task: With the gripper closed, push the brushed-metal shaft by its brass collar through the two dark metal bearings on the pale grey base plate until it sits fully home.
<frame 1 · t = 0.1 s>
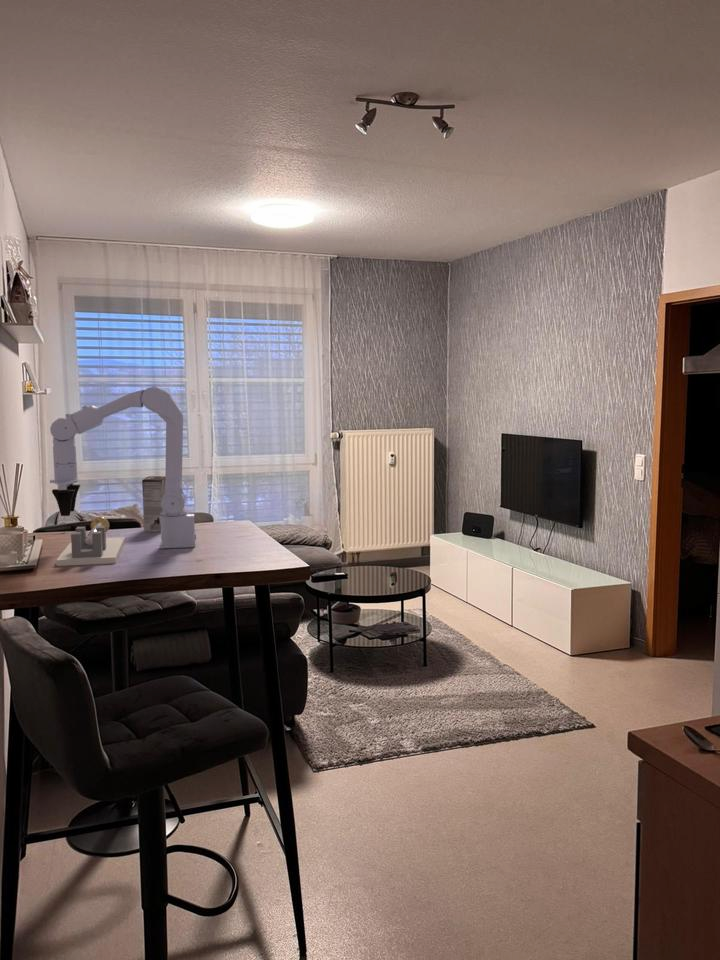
hand: (67, 513, 209), 10 cm above the table, tool pointing down, fingers open, 7 cm apart
shaft housing: (93, 552, 207), on the table
coffee box: (157, 529, 241), on the table
shaft: (95, 532, 211), point 4 cm above the table, slide at 8.0 cm
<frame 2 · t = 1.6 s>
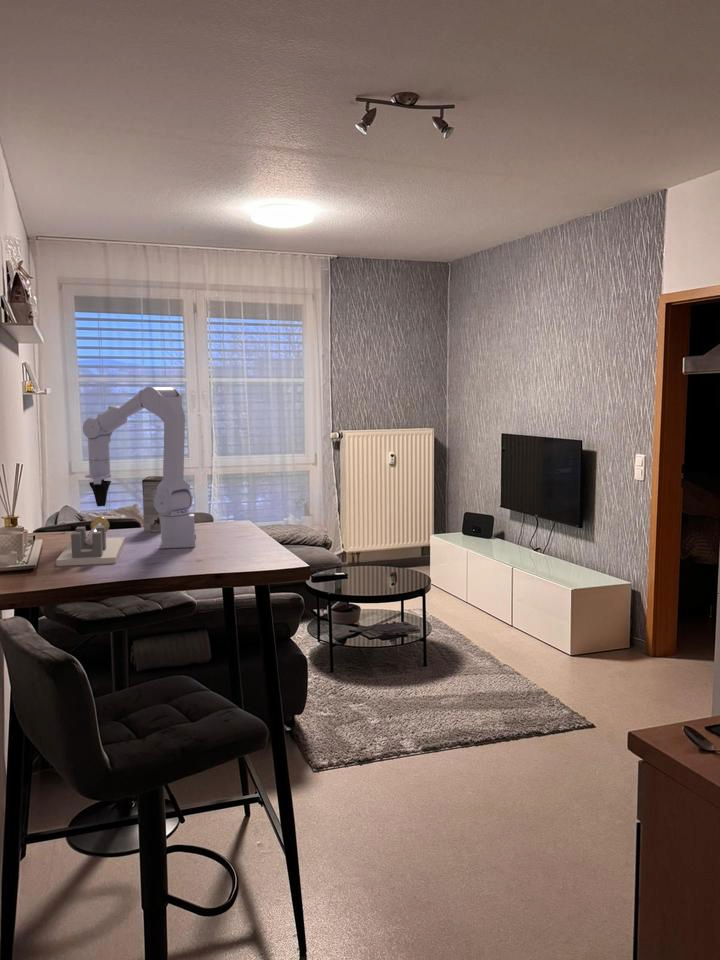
hand: (101, 506, 226), 9 cm above the table, tool pointing down, fingers closed
nothing on the table moved.
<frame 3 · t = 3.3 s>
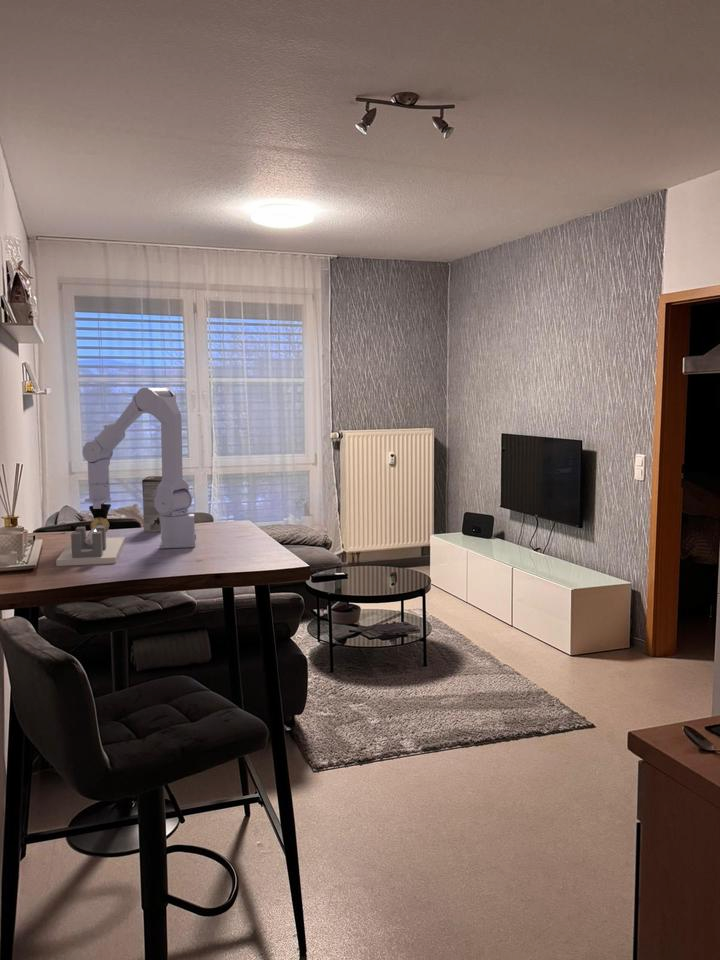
hand: (101, 529, 224), 3 cm above the table, tool pointing down, fingers closed
shaft: (95, 532, 211), point 4 cm above the table, slide at 7.8 cm, touching gripper
everything else where it was.
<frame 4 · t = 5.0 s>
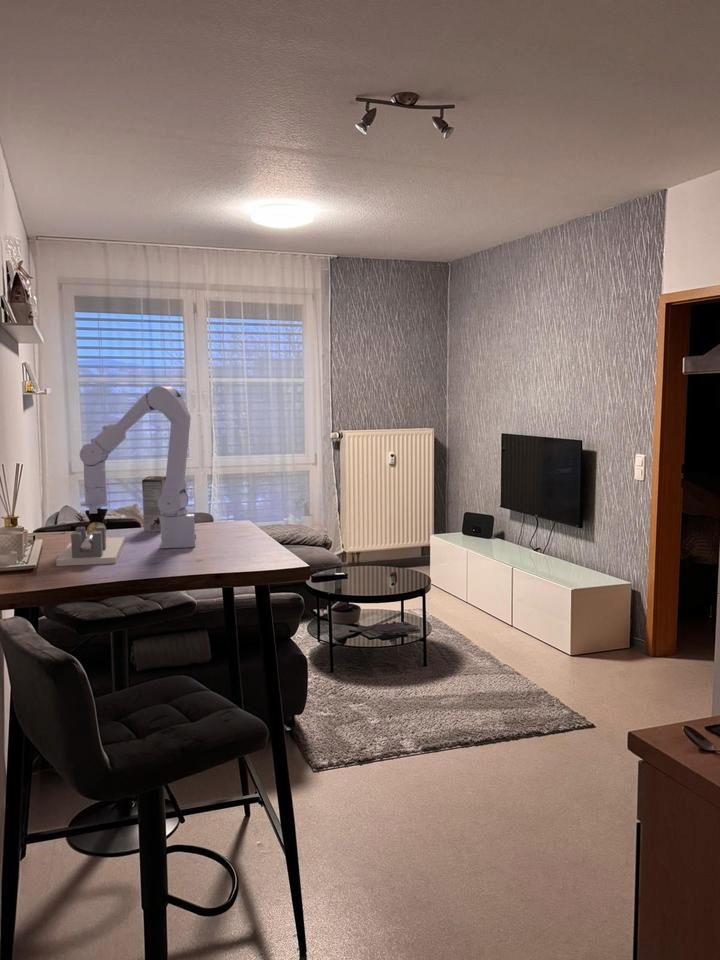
hand: (97, 535, 216), 3 cm above the table, tool pointing down, fingers closed
shaft: (91, 538, 203), point 4 cm above the table, slide at -0.2 cm, touching gripper
everything else where it was.
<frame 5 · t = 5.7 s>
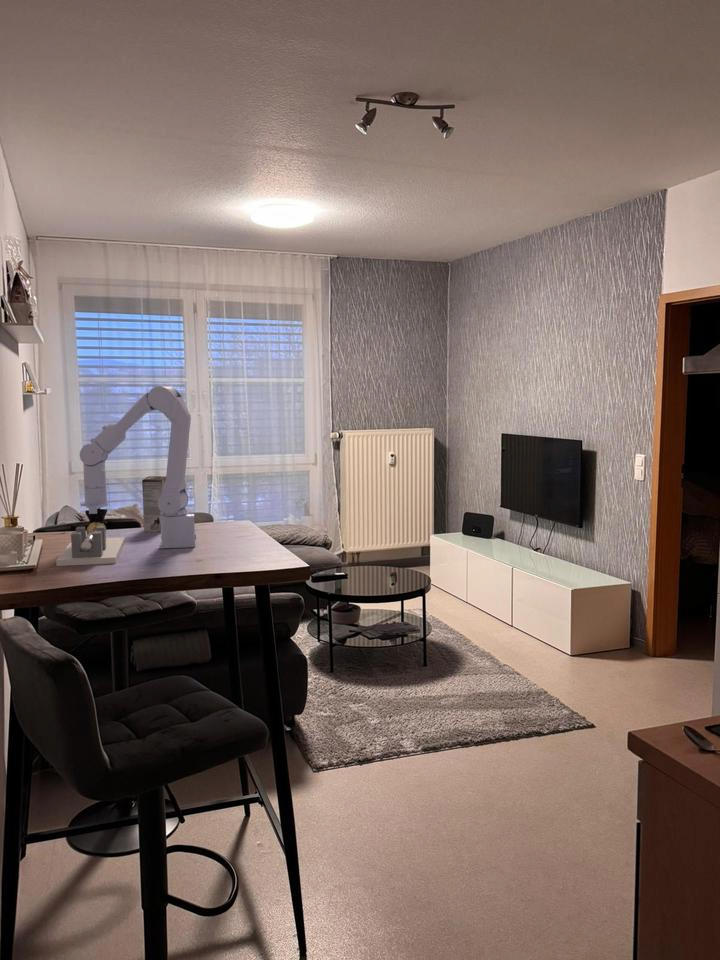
hand: (97, 535, 215), 3 cm above the table, tool pointing down, fingers closed
nothing on the table moved.
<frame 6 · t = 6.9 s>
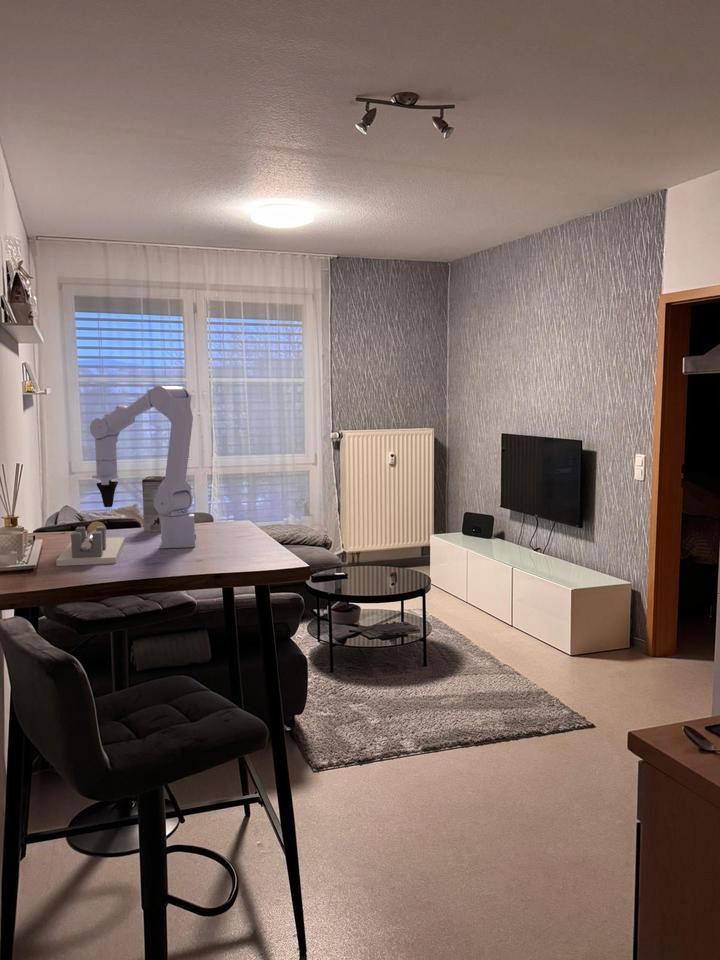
hand: (108, 506, 224), 9 cm above the table, tool pointing down, fingers closed
shaft: (91, 538, 203), point 4 cm above the table, slide at 0.0 cm
everything else where it was.
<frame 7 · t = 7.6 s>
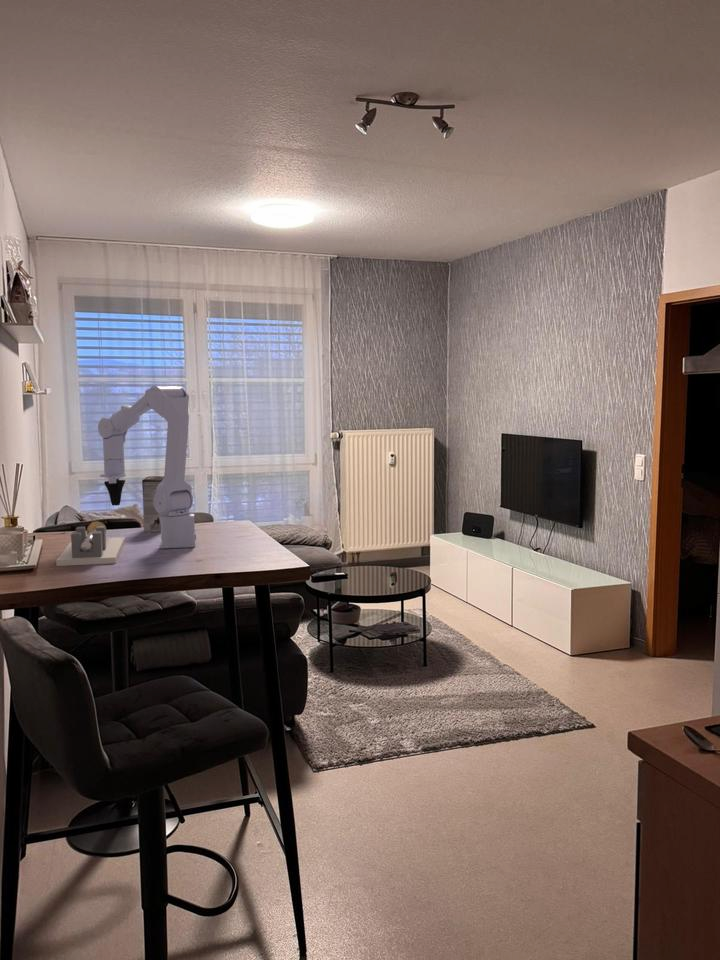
hand: (115, 505, 228), 9 cm above the table, tool pointing down, fingers closed
nothing on the table moved.
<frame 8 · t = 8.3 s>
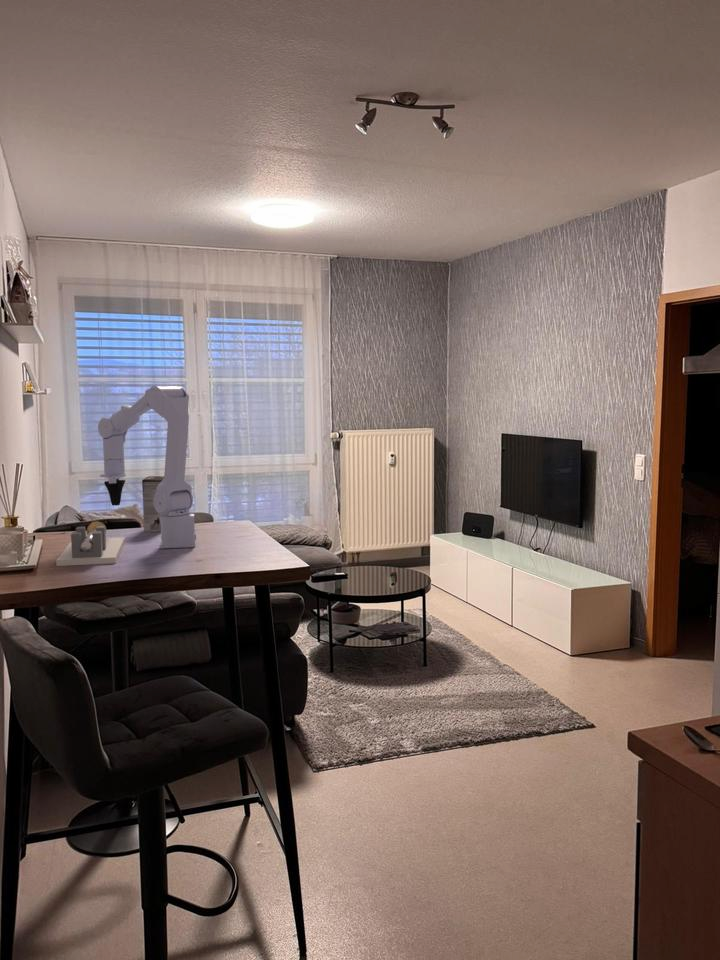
hand: (115, 505, 228), 9 cm above the table, tool pointing down, fingers closed
nothing on the table moved.
at the end: shaft slide at 0.0 cm; coffee box moved 0.2 cm from its start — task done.
